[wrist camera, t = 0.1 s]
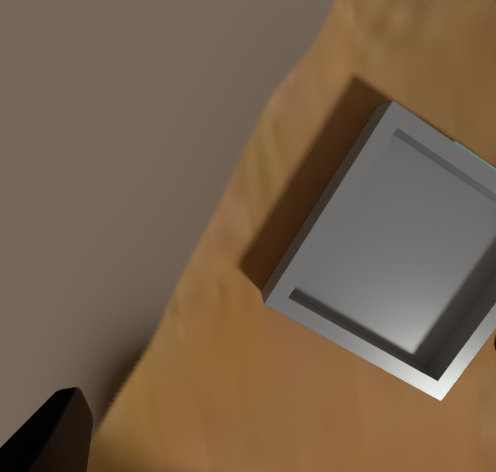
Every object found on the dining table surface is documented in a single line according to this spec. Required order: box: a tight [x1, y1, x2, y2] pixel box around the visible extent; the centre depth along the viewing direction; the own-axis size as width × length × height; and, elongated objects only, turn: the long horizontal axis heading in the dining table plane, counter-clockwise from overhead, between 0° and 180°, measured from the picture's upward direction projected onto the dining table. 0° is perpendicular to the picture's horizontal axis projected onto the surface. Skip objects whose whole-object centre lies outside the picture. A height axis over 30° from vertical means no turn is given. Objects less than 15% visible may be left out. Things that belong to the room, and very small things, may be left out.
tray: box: [261, 101, 496, 401], centre depth 23 cm, size 13×13×2 cm
